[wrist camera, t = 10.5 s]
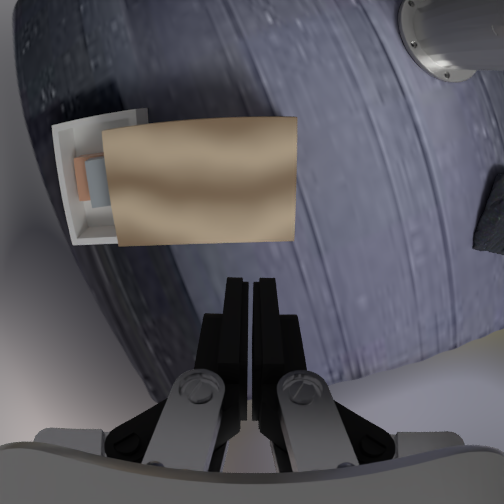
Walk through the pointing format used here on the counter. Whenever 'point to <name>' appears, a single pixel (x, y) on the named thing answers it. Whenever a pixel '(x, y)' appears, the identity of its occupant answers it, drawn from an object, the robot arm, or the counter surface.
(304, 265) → the counter surface
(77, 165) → the terracotta tile
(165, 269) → the counter surface
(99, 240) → the tray
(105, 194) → the slate tile
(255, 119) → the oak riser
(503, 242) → the black flat block
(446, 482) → the robot arm
